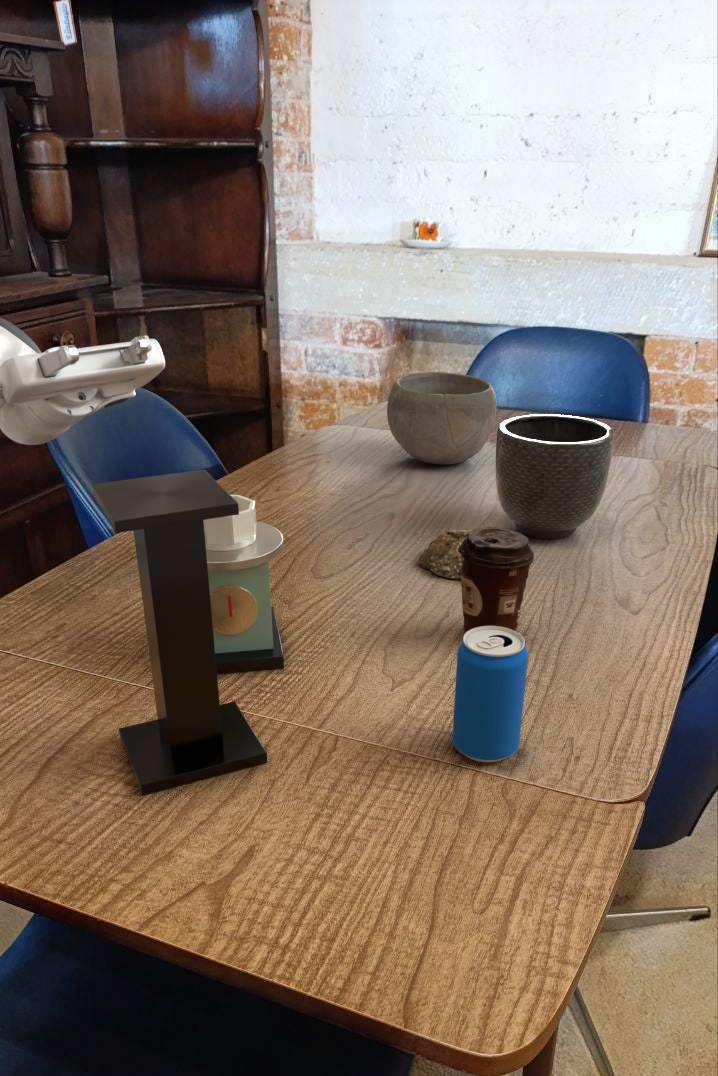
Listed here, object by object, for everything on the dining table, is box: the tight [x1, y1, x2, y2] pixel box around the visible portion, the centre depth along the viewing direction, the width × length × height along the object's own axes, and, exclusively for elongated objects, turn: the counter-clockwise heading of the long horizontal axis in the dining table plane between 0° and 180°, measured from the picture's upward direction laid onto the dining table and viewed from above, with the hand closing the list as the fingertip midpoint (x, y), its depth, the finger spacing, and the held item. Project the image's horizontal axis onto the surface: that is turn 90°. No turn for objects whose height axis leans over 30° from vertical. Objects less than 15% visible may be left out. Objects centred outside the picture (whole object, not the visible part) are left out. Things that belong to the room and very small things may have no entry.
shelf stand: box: [91, 469, 268, 796], centre depth 79 cm, size 10×12×26 cm
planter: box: [495, 414, 616, 540], centre depth 134 cm, size 17×17×16 cm
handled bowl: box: [203, 494, 257, 551], centre depth 100 cm, size 17×7×4 cm, turn 46°
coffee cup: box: [458, 526, 535, 636], centre depth 103 cm, size 9×8×13 cm
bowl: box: [386, 371, 498, 465], centre depth 168 cm, size 21×21×15 cm
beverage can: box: [451, 626, 529, 763], centre depth 83 cm, size 6×6×12 cm
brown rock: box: [417, 529, 472, 581], centre depth 124 cm, size 13×12×5 cm
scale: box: [206, 520, 285, 675], centre depth 101 cm, size 13×13×14 cm
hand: (109, 346), depth 100 cm, fingers open, 8 cm apart
